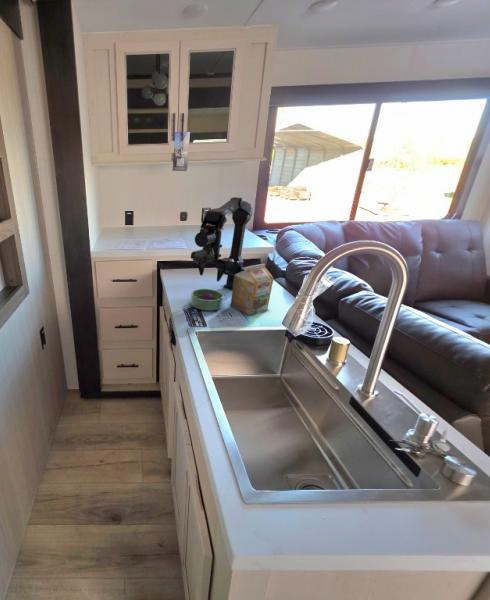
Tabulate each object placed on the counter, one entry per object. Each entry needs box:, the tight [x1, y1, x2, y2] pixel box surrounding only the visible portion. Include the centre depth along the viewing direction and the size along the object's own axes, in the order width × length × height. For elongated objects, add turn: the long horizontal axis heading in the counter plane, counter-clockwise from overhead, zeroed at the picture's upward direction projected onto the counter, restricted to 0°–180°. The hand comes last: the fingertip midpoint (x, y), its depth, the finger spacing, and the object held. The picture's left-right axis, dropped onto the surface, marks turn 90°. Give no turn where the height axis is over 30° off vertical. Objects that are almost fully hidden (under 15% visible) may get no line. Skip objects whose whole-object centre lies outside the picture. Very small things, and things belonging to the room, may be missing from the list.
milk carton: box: [229, 263, 274, 316], centre depth 130 cm, size 11×11×19 cm
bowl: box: [190, 288, 224, 312], centre depth 136 cm, size 13×13×5 cm
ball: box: [201, 293, 213, 300], centre depth 136 cm, size 5×5×5 cm
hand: (209, 278), depth 134 cm, fingers open, 9 cm apart
